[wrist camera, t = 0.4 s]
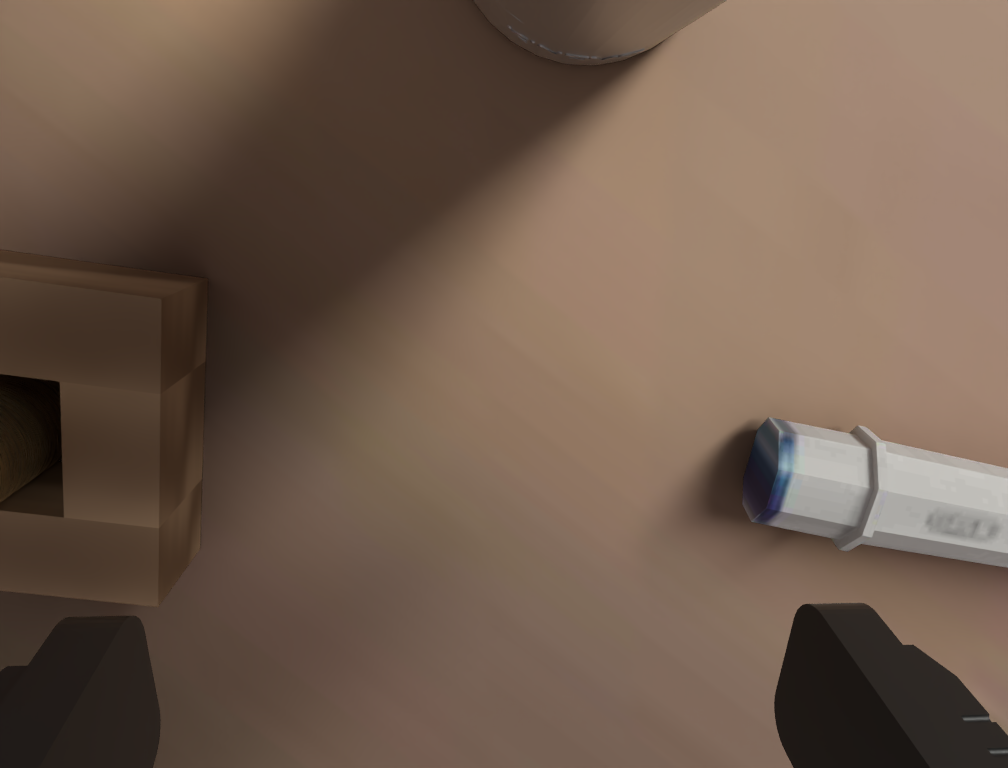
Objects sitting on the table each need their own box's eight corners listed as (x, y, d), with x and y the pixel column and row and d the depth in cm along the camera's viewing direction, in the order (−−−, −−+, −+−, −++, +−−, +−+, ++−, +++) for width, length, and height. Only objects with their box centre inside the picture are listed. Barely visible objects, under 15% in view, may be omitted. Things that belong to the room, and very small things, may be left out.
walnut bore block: (-115, 234, 25) (-221, 246, 21) (208, 278, 26) (161, 299, 22) (-87, 516, 28) (-176, 572, 24) (200, 548, 29) (158, 607, 25)
